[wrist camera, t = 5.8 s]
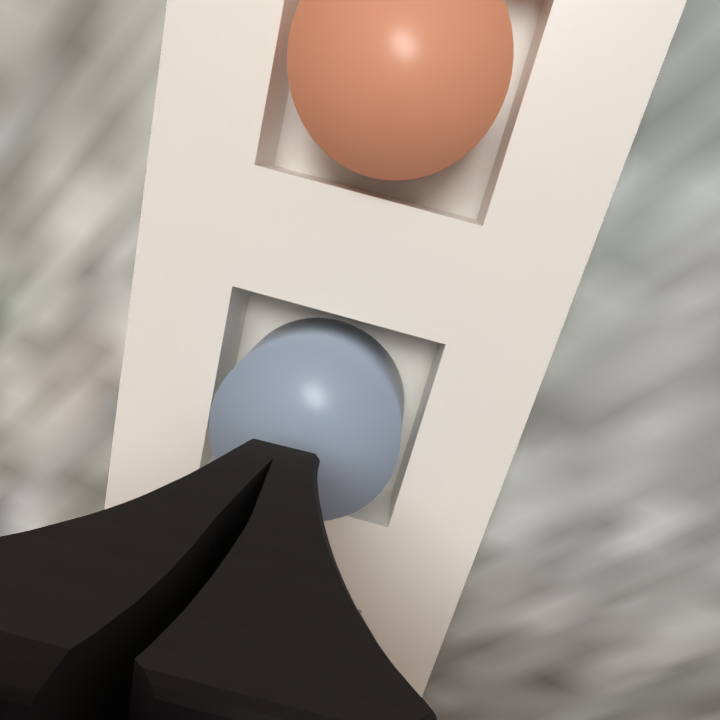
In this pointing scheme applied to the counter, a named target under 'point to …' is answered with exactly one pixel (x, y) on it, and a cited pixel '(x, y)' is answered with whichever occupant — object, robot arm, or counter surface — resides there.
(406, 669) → the button panel
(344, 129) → the terracotta button
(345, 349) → the blue button
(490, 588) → the counter surface
